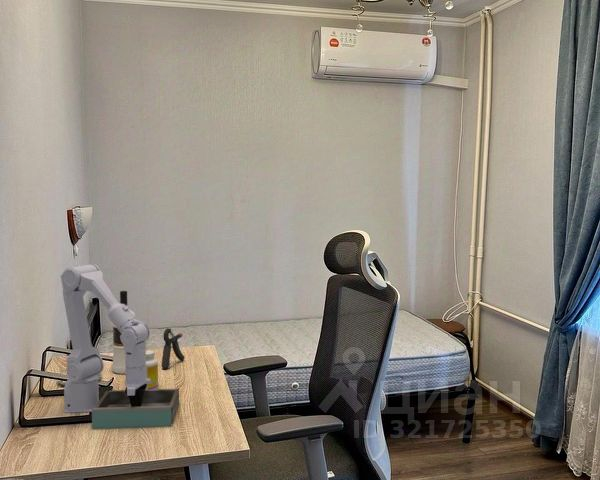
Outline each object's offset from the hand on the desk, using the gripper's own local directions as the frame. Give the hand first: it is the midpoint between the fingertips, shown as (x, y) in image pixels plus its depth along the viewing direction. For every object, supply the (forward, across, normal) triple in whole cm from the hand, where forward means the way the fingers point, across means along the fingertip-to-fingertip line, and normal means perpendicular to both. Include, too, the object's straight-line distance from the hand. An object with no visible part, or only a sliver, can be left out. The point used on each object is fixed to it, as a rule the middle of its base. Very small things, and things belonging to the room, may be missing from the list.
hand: (136, 410), depth 157 cm
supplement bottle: (+3, +23, +1) cm, 23 cm away
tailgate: (+2, -7, 0) cm, 7 cm away
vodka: (+3, +43, +13) cm, 45 cm away
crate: (+2, +2, 0) cm, 3 cm away
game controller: (+3, +32, +26) cm, 42 cm away
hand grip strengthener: (+3, +48, -4) cm, 48 cm away
